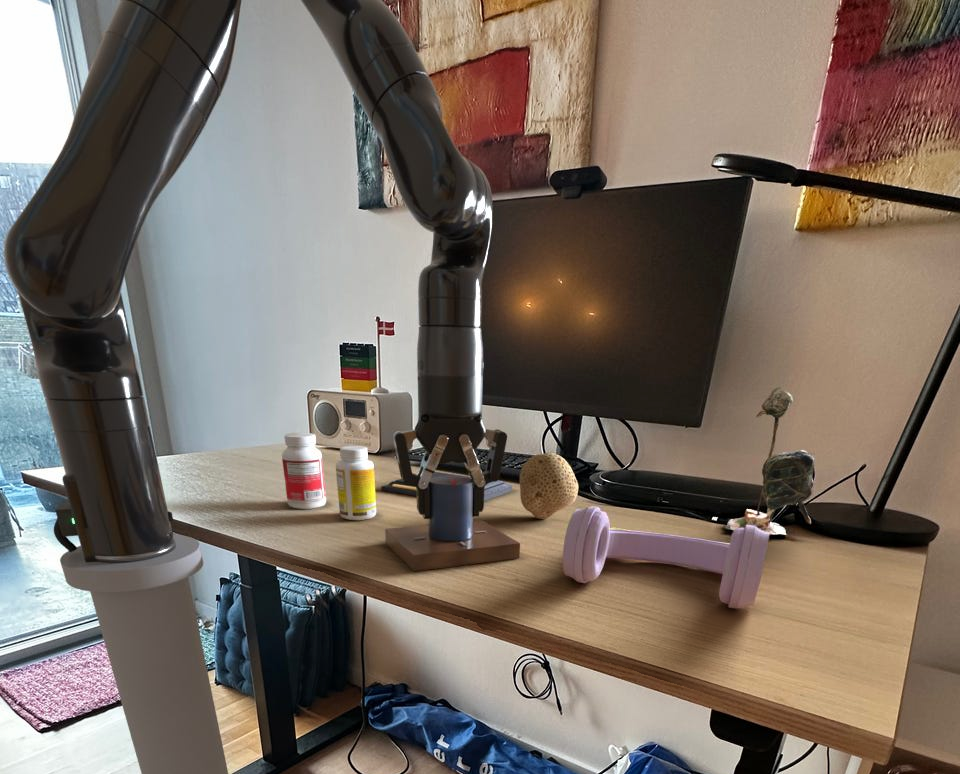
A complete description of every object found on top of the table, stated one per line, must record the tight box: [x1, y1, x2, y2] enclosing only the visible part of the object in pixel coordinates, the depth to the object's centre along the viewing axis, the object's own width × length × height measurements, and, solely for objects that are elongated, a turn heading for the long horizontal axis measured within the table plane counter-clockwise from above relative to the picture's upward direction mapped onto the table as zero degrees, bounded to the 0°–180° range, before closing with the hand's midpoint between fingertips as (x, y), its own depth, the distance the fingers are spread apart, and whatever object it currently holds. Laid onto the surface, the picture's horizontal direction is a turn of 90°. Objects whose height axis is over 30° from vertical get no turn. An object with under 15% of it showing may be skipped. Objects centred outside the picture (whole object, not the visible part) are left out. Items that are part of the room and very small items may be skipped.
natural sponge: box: [519, 452, 579, 520], centre depth 92 cm, size 9×9×10 cm
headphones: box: [562, 506, 770, 609], centre depth 69 cm, size 20×10×20 cm
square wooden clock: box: [384, 519, 521, 572], centre depth 78 cm, size 14×12×2 cm
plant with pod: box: [724, 386, 815, 536], centre depth 85 cm, size 8×11×20 cm
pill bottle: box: [281, 432, 327, 510], centre depth 96 cm, size 6×6×11 cm
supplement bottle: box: [335, 445, 377, 521], centre depth 90 cm, size 6×6×10 cm
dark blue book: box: [380, 471, 513, 502], centre depth 110 cm, size 20×2×15 cm
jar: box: [428, 476, 474, 542], centre depth 76 cm, size 6×6×7 cm
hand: (450, 515), depth 76 cm, fingers closed on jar, 5 cm apart
